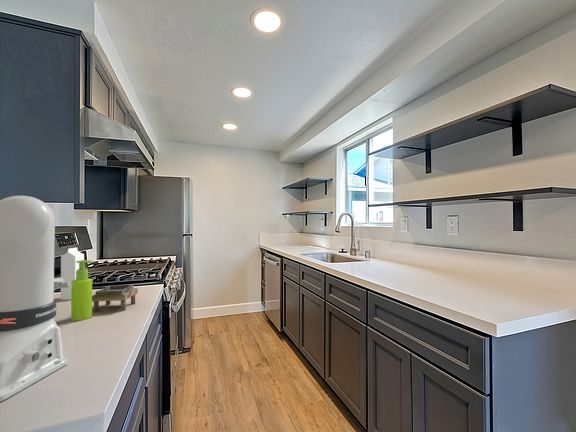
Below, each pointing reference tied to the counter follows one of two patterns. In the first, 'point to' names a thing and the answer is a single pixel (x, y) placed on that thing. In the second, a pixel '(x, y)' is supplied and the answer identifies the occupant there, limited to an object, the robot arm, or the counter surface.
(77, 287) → the soap dispenser
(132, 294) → the stool
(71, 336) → the counter surface
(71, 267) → the milk
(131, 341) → the counter surface
